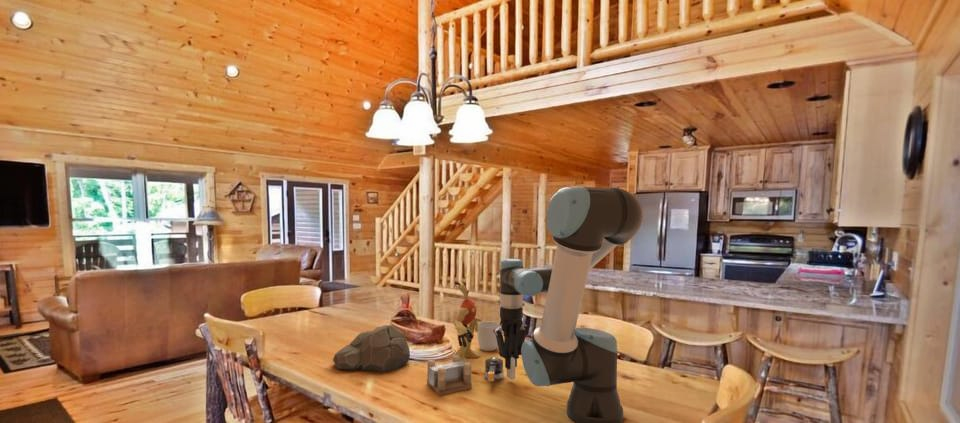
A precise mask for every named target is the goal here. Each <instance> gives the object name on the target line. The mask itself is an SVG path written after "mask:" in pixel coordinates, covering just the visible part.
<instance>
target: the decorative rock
mask: <svg viewBox="0 0 960 423" xmlns="http://www.w3.org/2000/svg"><path fill="white" fill-rule="evenodd" d="M410 352H411V351H410V347H409V344H408V342H407V339H406V336H405V333H404V332H403V331H402V330H400V329H398V328H397V327H395V326H394V325H392V324H388V325H387V324H385V325H382V326H377V327H376V328H374V329H373V330H367V331H361V332H360V333H358V334H357V336H356V337H354V338H353V340H352V341H351V342H350V343H349V344H346V346H344V347H343V348H340V350H338V351H336V353H335V354H334V356H333V357H332V358H333V359H332V361H333V363H334V364H335V366H336V368H337V369H339V370H342V371H359V370H362V371H374V372H376V373H377V372H378V373H387V372H391V371H394V370H395V371H396V370H398V369H399V368H401V367H404V366H406V365H407V364H408V362H409V360H410V356H411V353H410Z"/></svg>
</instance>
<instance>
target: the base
mask: <svg viewBox="0 0 960 423" xmlns="http://www.w3.org/2000/svg"><path fill="white" fill-rule="evenodd" d="M504 376H505V374H504V370H503V372H501V373H497V374H496V375H495V378H494V381H493V382H496V381H497V382H498V381H501V380H503V379H504ZM484 378H485V379H486V380H487V381H488V372H486V371H485V370H484Z"/></svg>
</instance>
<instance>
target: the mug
mask: <svg viewBox="0 0 960 423" xmlns="http://www.w3.org/2000/svg"><path fill="white" fill-rule="evenodd" d="M499 324H500V322H499V323H498V322H496V321H489V320H486V321H481V322H478V326H479V331H478V332H476V333H477V334H476V335H477V341H478V342H477V343H478V346H479V348H480V350H482V351H485V352H493V351H495V350H497V348H498V344H497V339H496V335H495V333H494V332H493V330H494V329H497V328H498V327H499V326H500V325H499Z"/></svg>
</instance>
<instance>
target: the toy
mask: <svg viewBox="0 0 960 423" xmlns="http://www.w3.org/2000/svg"><path fill="white" fill-rule="evenodd" d="M454 285H456V286H457V289H458V290H459V291H460V292H461V293H462V294H463V298H464V299H463V301H462V302H461V304H460V308H459V309H458V313H457V315H456V317H455V319H454V322H453V326H454V328H455V329H456V333H457V340H458V346H459V348H458V350H457V351H456V353H455V355H458V356H460V361H462V360H463V361H464V362H466V363H470V362H469V360H468V358H469V359H470V358H472V359H473V358H480V357H482V355H481V354H480V353H478V352H476V351H474V350H473V349H471V345H472V341H473V339H474V336H475V334H474V332H475V333H477V332H478V331H479V326H478V323H480V322H483V321H482V318H480V317H478V316H476V315H477V306H478V305H477V303H476V302H475V301H474V300H472V299H471V298H469V293H470V290H468V288H467V286H466V285H465V283H464V282H459V281H455V282H454Z"/></svg>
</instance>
